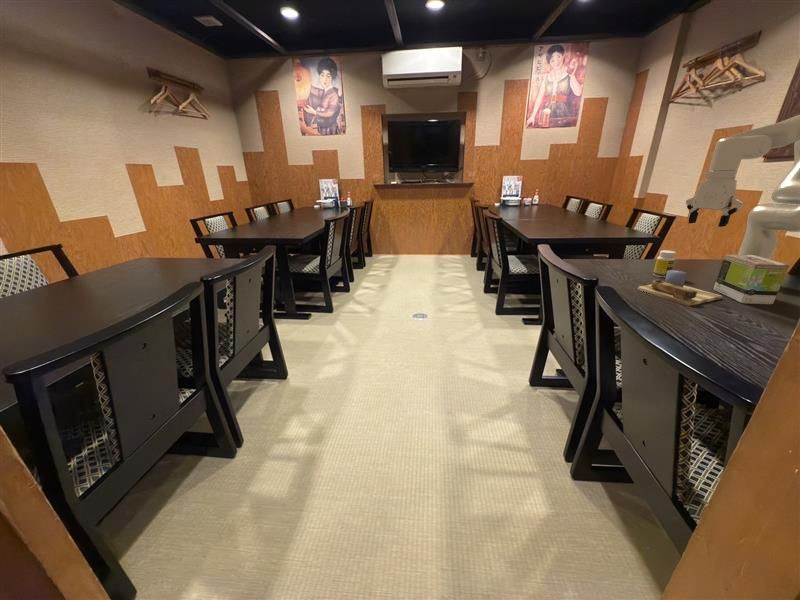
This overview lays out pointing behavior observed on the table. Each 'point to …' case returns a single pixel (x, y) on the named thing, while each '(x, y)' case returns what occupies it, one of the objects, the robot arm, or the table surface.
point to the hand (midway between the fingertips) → (706, 224)
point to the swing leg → (672, 288)
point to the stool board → (682, 295)
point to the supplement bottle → (664, 263)
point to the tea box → (750, 278)
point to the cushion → (676, 277)
